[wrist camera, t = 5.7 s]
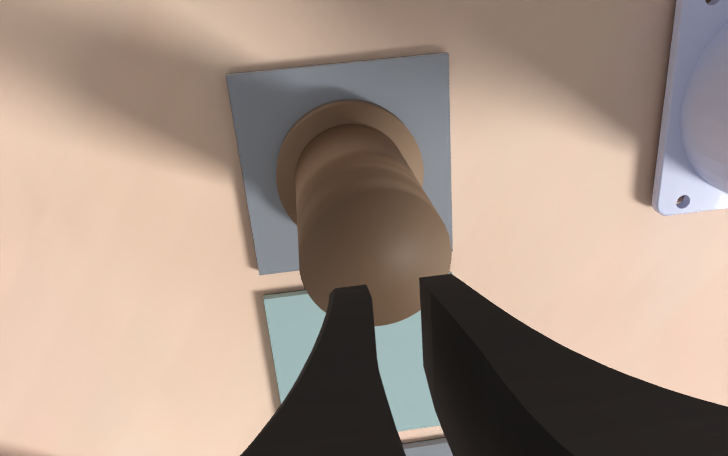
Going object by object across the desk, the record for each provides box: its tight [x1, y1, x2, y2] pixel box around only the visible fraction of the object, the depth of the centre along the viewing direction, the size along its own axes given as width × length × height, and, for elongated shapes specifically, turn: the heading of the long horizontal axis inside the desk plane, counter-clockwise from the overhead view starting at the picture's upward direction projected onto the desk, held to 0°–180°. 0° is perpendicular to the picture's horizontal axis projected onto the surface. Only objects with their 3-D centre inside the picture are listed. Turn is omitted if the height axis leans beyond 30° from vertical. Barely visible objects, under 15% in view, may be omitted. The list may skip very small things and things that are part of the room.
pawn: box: [276, 99, 452, 326], centre depth 17 cm, size 5×5×7 cm
